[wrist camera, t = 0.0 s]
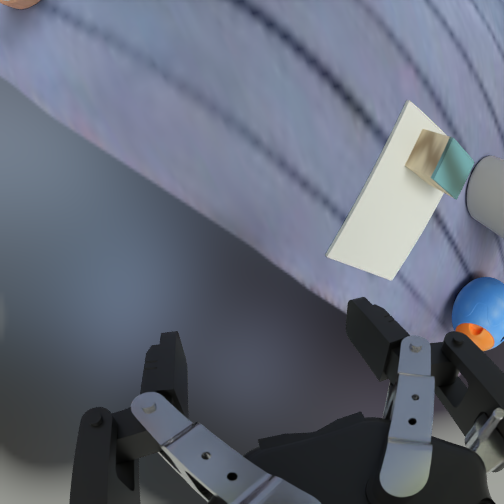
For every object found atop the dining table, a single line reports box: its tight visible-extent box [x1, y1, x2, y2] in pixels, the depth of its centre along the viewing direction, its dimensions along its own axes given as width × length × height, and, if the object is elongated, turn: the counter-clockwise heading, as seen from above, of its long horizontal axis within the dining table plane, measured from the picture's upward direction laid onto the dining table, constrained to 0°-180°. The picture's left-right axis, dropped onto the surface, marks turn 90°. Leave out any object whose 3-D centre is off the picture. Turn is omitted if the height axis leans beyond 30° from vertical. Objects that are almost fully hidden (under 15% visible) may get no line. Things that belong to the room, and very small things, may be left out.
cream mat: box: [325, 100, 447, 281], centre depth 37 cm, size 24×14×1 cm, turn 155°
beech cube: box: [405, 129, 474, 200], centre depth 32 cm, size 6×6×6 cm
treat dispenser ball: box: [452, 277, 504, 351], centre depth 46 cm, size 16×15×15 cm
